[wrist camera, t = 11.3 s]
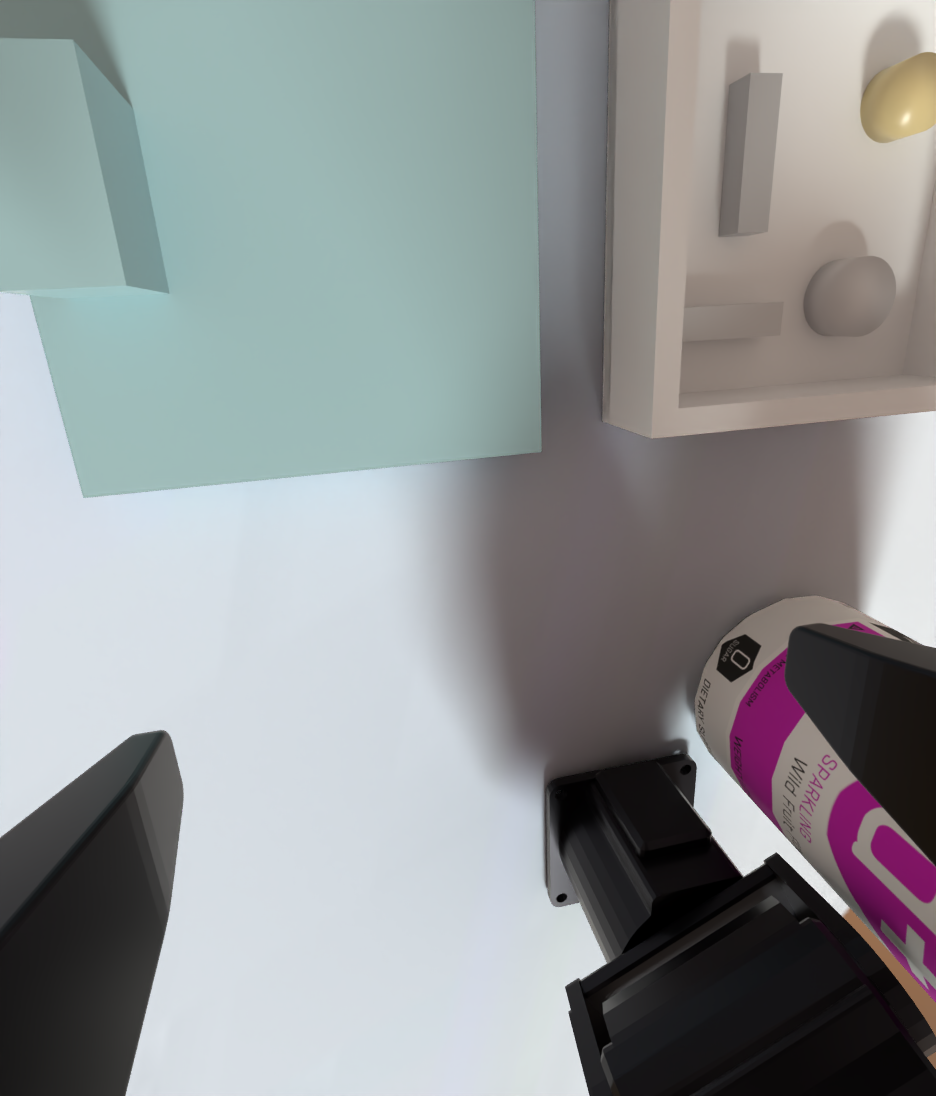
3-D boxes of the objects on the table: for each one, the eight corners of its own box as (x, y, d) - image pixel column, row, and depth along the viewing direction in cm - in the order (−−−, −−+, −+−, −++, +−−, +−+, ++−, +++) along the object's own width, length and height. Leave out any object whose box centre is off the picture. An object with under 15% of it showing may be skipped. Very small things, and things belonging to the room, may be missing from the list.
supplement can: (664, 761, 27) (1016, 1206, 14) (715, 581, 25) (1206, 902, 11) (822, 760, 30) (1267, 1146, 16) (883, 593, 27) (1475, 877, 13)
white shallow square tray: (903, 393, 24) (993, 405, 21) (602, 421, 22) (651, 438, 19) (978, -42, 20) (1109, -114, 16) (610, -62, 17) (677, -149, 14)
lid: (524, 442, 22) (592, 481, 16) (103, 482, 19) (20, 545, 14) (511, -95, 17) (602, -291, 11) (-52, -130, 14) (-271, -398, 9)
